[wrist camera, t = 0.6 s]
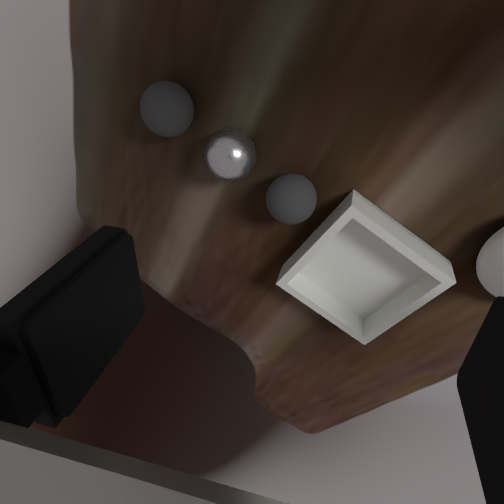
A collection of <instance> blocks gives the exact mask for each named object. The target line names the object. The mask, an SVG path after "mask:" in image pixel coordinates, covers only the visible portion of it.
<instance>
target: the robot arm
mask: <svg viewBox="0 0 504 504" xmlns="http://www.w3.org/2000/svg"><path fill="white" fill-rule="evenodd" d="M143 315H144V301H143V295H142V289H141V283H140V277H139V271H138V266H137V260H136V254H135V248H134V242H133V238H132V236H131V235H129V234H128V232H127V231H126V230H125V229H124V228H118V227H112V226H103V227H101V228H100V229H98V230H97V231H96V232H95V233H93V234H92V235H91V236H90V237H88V238H87V239H86V240H85V241H83V242H82V243H81V244H80V245H78V246H77V247H76V248H75V249H73V250H72V251H71V252H70V253H68V254H67V255H66V256H65V257H63V258H62V259H61V260H60V261H58V262H57V263H56V264H55V265H53V266H52V267H51V268H50V269H48V270H47V271H46V272H45V273H44V274H42V275H41V276H40V277H38V278H37V279H36V280H35V281H33V282H32V283H31V284H30V285H28V286H27V287H26V288H25V289H24V290H22V291H21V292H20V293H18V294H17V295H16V296H15V297H13V298H12V299H11V300H10V301H8V302H7V303H6V304H5V305H3V306H2V307H1V308H0V504H288V503H284V502H281V501H277V500H274V499H271V498H267V497H264V496H260V495H257V494H254V493H250V492H247V491H244V490H240V489H237V488H233V487H230V486H227V485H223V484H220V483H216V482H213V481H209V480H206V479H203V478H199V477H196V476H193V475H189V474H186V473H182V472H179V471H176V470H172V469H169V468H165V467H162V466H158V465H155V464H152V463H148V462H145V461H141V460H138V459H134V458H131V457H127V456H124V455H120V454H117V453H114V452H110V451H107V450H103V449H99V448H96V447H93V446H89V445H86V444H82V443H79V442H75V441H72V440H69V439H65V438H62V437H58V436H54V435H51V434H47V433H44V432H41V431H37V430H33V429H29V427H30V425H31V424H32V423H33V422H34V421H36V423H38V424H41V425H45V426H48V427H52V428H56V427H57V425H58V424H59V423H60V422H61V420H62V419H63V418H64V417H67V416H69V415H71V414H72V412H73V411H74V410H75V409H76V407H77V406H78V405H79V403H80V402H81V401H82V399H83V398H84V396H85V395H86V394H87V392H88V391H89V390H90V388H91V387H92V385H93V384H94V383H95V382H96V380H97V379H98V377H99V376H100V375H101V374H102V372H103V371H104V369H105V368H106V367H107V365H108V364H109V363H110V361H111V360H112V359H113V357H114V356H115V355H116V353H117V352H118V350H119V349H120V347H121V346H122V345H123V344H124V342H125V341H126V340H127V338H128V337H129V336H130V334H131V333H132V332H133V330H134V329H135V327H136V326H137V325H138V323H139V322H140V321H141V319H142V317H143ZM457 388H458V392H459V396H460V400H461V404H462V408H463V412H464V416H465V420H466V424H467V428H468V432H469V435H470V439H471V444H472V448H473V452H474V456H475V460H476V464H477V468H478V472H479V476H480V480H481V484H482V488H483V492H484V496H485V500H486V504H504V297H503V296H498V297H497V298H496V299H495V300H494V302H493V304H492V306H491V308H490V310H489V312H488V314H487V316H486V318H485V320H484V322H483V324H482V326H481V328H480V330H479V332H478V334H477V336H476V338H475V340H474V342H473V344H472V346H471V348H470V350H469V352H468V354H467V356H466V358H465V360H464V362H463V364H462V366H461V368H460V370H459V372H458V376H457Z"/></svg>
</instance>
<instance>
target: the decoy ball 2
mask: <svg viewBox="0 0 504 504" xmlns="http://www.w3.org/2000/svg"><path fill="white" fill-rule="evenodd" d="M316 203H317V194H316V190H315V188H314V186H313V184H312V183H311V182H310V181H309V180H308V179H307V178H306V177H304V176H302V175H299V174H295V173H289V174H284V175H282V176H279V177H278V178H276V179H275V180H274V181H273V182H272V183H271V185H270V186H269V188H268V191H267V194H266V204H267V208H268V210H269V212H270V214H271V215H272V216H273V217H274V218H275V219H276V220H277V221H279V222H281V223H284V224H298V223H301V222H303V221H305V220H306V219H308V218H309V217H310V216H311V214H312V213H313V211H314V209H315V207H316Z"/></svg>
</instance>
